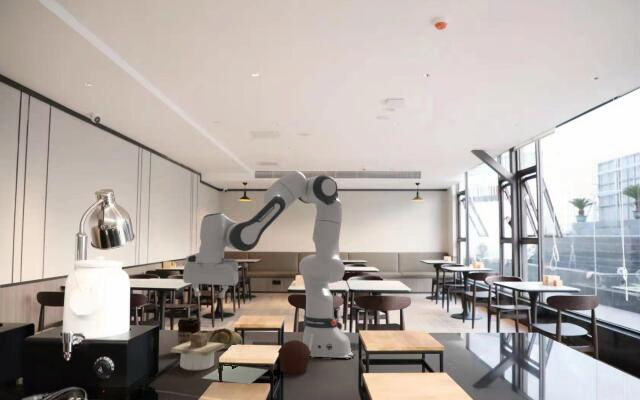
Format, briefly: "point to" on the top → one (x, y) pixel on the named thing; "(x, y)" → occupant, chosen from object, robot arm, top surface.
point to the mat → (237, 374)
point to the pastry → (225, 337)
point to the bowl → (196, 361)
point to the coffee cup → (187, 329)
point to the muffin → (294, 357)
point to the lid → (198, 346)
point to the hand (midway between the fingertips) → (209, 297)
